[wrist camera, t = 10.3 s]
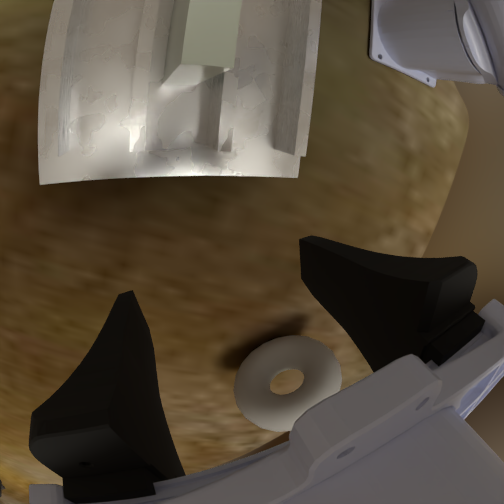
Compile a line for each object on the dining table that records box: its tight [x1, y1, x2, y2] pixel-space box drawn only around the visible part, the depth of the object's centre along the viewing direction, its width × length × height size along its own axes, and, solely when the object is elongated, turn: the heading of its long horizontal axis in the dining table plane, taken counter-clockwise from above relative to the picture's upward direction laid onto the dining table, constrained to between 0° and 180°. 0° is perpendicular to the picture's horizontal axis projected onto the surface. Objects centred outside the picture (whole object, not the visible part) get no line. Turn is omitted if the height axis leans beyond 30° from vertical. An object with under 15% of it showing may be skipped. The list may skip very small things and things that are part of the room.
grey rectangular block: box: [163, 0, 242, 85], centre depth 11 cm, size 2×8×8 cm, turn 174°
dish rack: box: [38, 0, 322, 185], centre depth 14 cm, size 18×20×4 cm
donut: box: [234, 335, 342, 432], centre depth 26 cm, size 10×4×10 cm, turn 110°
